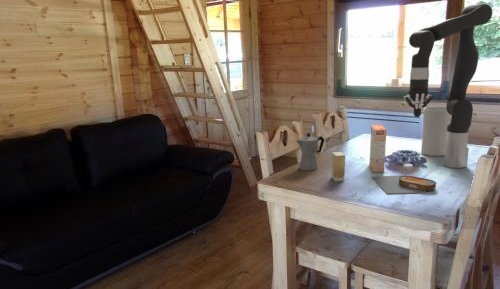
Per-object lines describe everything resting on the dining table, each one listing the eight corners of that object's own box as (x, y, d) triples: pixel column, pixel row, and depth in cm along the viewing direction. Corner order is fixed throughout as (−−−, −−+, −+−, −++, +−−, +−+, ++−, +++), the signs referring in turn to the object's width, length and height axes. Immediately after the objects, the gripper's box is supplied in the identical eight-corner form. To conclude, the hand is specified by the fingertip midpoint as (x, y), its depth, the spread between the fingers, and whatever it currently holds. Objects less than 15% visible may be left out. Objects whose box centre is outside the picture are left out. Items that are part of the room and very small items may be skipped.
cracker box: (385, 173, 188) (386, 129, 183) (371, 172, 189) (373, 129, 184) (381, 164, 201) (383, 124, 196) (369, 164, 203) (370, 124, 198)
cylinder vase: (442, 150, 222) (446, 106, 216) (449, 156, 210) (453, 110, 204) (418, 150, 224) (421, 106, 218) (424, 156, 212) (427, 110, 206)
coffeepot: (301, 172, 194) (300, 136, 190) (292, 167, 203) (292, 132, 198) (328, 168, 199) (329, 133, 195) (319, 163, 208) (319, 129, 203)
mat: (406, 176, 182) (406, 175, 182) (426, 192, 161) (426, 192, 161) (371, 177, 183) (371, 176, 183) (387, 194, 161) (387, 193, 161)
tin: (439, 181, 165) (431, 185, 159) (438, 188, 166) (430, 192, 160) (404, 174, 176) (395, 177, 170) (403, 181, 176) (395, 184, 170)
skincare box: (331, 177, 185) (331, 151, 182) (340, 176, 185) (340, 151, 182) (335, 181, 179) (335, 155, 176) (344, 181, 179) (345, 154, 176)
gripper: (430, 76, 178) (428, 114, 183) (401, 77, 179) (399, 115, 183) (438, 78, 171) (435, 117, 175) (407, 79, 171) (405, 118, 175)
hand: (416, 116), depth 179 cm, fingers closed
